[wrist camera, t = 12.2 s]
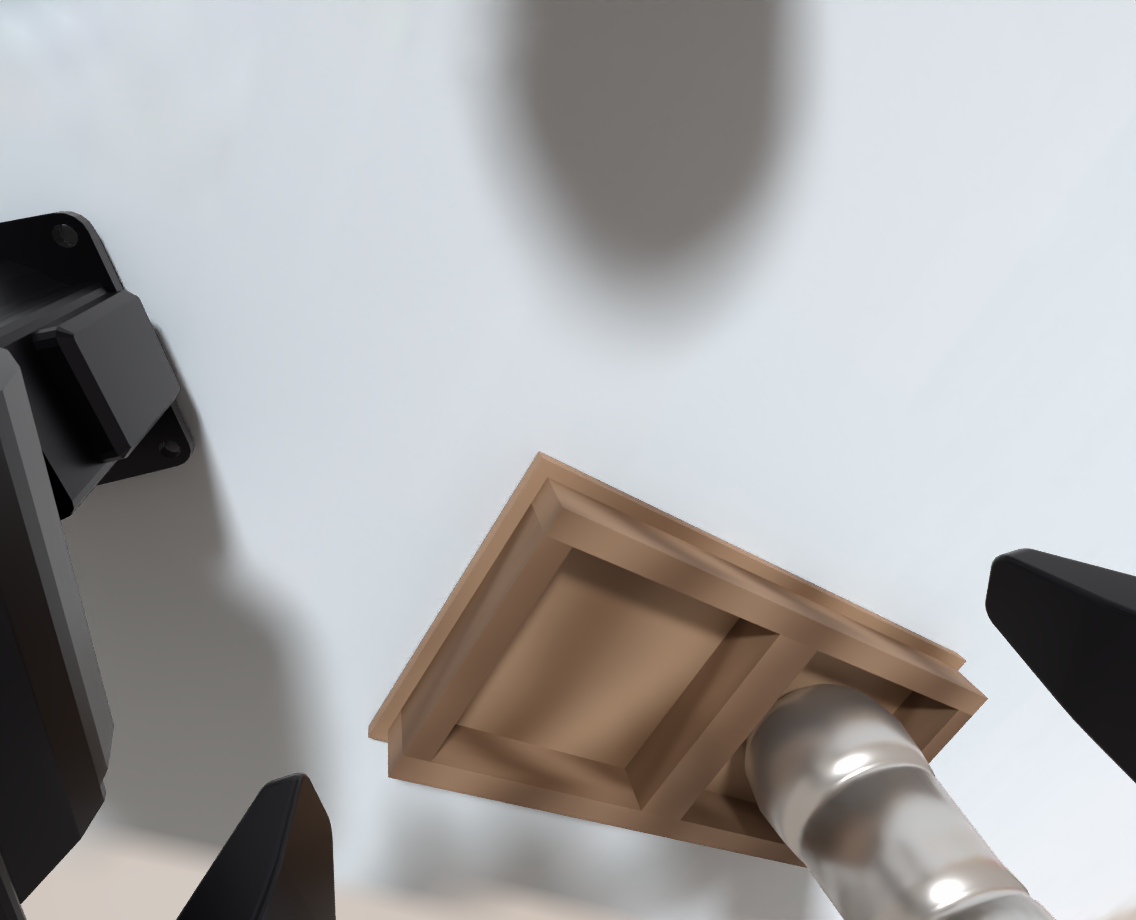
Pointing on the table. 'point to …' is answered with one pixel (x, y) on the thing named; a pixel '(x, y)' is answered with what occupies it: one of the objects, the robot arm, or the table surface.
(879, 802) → the silver metal bottle
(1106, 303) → the table surface
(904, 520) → the table surface
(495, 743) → the wooden divided tray
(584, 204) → the table surface
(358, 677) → the table surface
